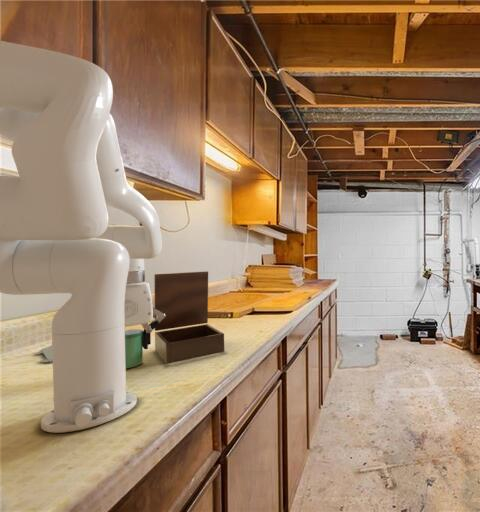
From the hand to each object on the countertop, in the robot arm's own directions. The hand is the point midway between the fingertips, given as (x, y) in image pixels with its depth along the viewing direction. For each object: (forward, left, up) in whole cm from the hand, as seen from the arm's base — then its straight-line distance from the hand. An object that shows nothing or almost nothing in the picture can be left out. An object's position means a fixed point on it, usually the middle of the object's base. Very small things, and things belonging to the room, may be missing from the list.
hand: (127, 350), depth 77 cm
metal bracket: (+28, +9, -5) cm, 30 cm away
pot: (0, 0, -3) cm, 3 cm away
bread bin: (+3, -14, -5) cm, 15 cm away
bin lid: (+10, -14, +10) cm, 20 cm away
